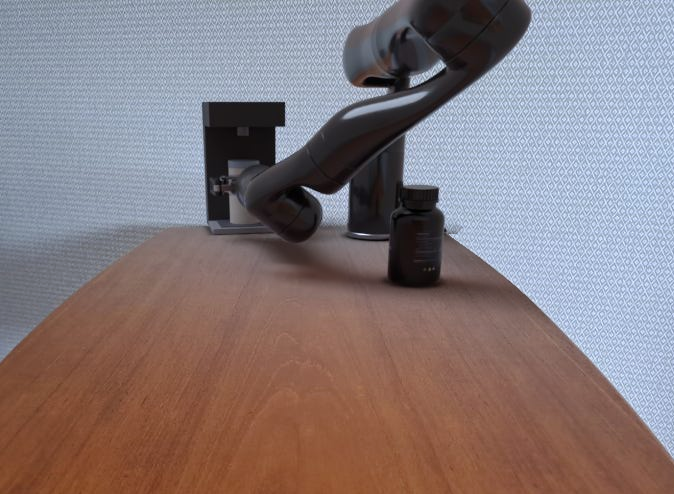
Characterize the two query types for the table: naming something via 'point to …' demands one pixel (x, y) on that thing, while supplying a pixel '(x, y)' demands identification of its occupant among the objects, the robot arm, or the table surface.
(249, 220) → the container
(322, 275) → the table surface
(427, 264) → the supplement bottle
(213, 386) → the table surface
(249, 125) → the coffee maker
